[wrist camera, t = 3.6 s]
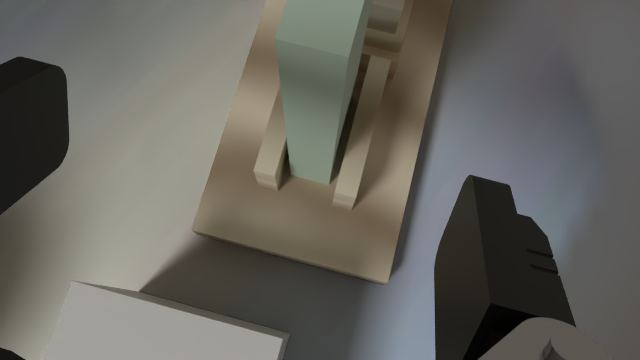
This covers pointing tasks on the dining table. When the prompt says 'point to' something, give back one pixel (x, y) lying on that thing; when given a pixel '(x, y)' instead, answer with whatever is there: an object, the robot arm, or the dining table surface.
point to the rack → (350, 166)
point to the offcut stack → (385, 32)
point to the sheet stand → (153, 330)
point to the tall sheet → (318, 78)
